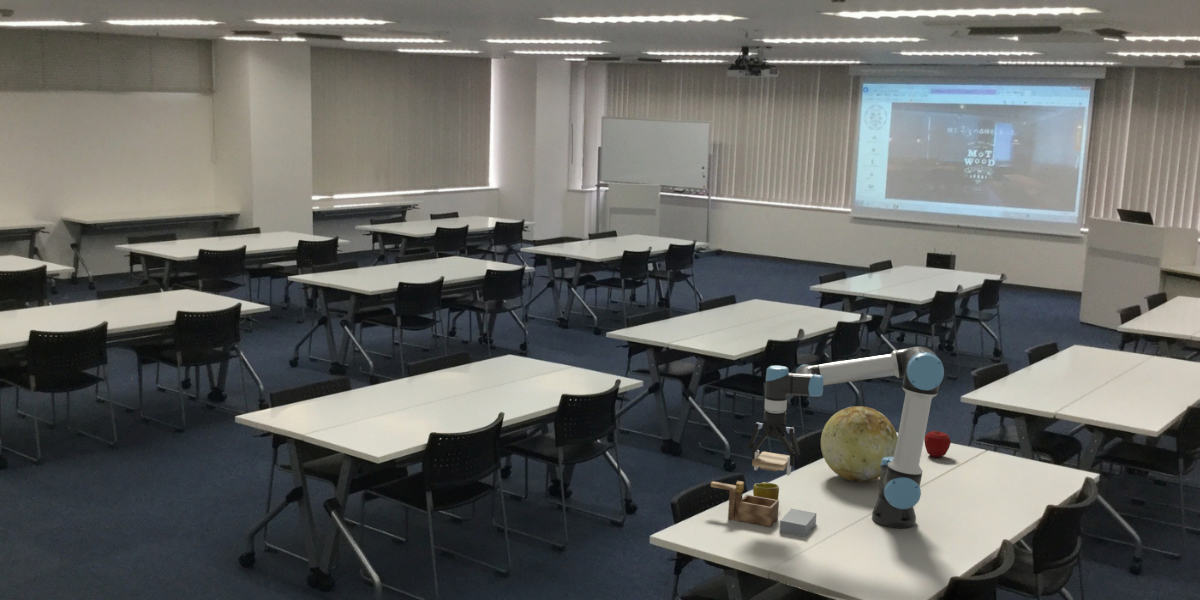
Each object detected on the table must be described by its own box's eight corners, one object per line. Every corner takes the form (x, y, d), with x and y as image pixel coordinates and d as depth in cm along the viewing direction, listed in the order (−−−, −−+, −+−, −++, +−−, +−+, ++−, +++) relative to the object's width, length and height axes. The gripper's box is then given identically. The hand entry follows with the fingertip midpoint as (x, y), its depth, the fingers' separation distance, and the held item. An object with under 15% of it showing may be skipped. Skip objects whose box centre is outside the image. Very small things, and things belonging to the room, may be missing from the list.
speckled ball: (904, 478, 420) (910, 406, 416) (881, 497, 395) (887, 421, 391) (833, 464, 436) (838, 394, 432) (807, 482, 411) (812, 408, 407)
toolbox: (777, 519, 368) (779, 488, 367) (770, 527, 360) (772, 495, 359) (736, 511, 375) (737, 480, 373) (727, 519, 367) (729, 487, 365)
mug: (782, 508, 374) (775, 481, 375) (755, 514, 377) (748, 486, 378) (785, 503, 386) (778, 477, 387) (758, 509, 388) (751, 483, 390)
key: (743, 490, 369) (744, 482, 369) (741, 492, 367) (741, 484, 366) (713, 484, 374) (713, 476, 374) (710, 487, 372) (710, 478, 371)
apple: (924, 459, 448) (926, 432, 446) (921, 452, 458) (923, 426, 456) (951, 461, 446) (953, 434, 444) (947, 454, 456) (949, 428, 455)
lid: (782, 473, 354) (783, 465, 354) (752, 468, 359) (752, 460, 359) (792, 464, 365) (793, 456, 365) (762, 459, 370) (763, 451, 369)
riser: (815, 524, 365) (816, 513, 364) (805, 536, 352) (805, 525, 352) (790, 519, 369) (791, 508, 368) (779, 531, 356) (780, 520, 356)
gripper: (811, 412, 357) (808, 474, 361) (746, 403, 368) (743, 463, 371) (805, 417, 351) (802, 480, 354) (739, 408, 361) (736, 469, 364)
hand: (772, 471), depth 362 cm, fingers closed on lid, 11 cm apart
